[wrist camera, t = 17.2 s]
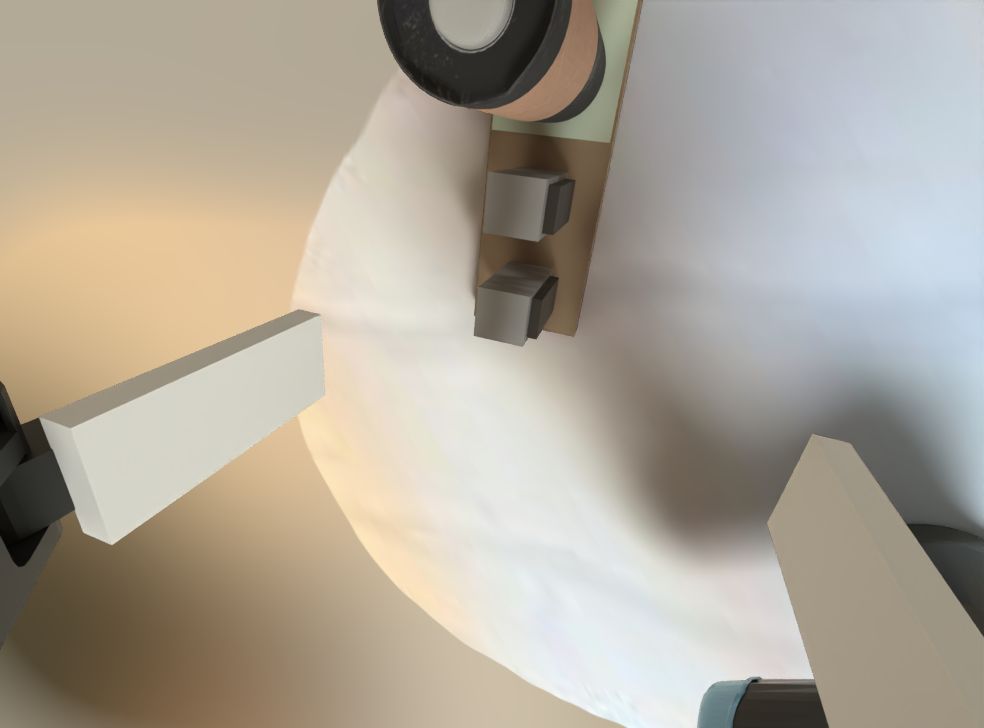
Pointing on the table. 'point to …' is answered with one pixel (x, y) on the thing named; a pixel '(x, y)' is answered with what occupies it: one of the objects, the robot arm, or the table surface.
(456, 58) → the travel mug
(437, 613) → the table surface
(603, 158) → the board with grey blocks
